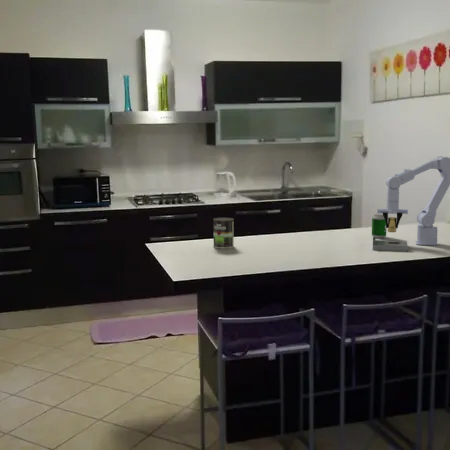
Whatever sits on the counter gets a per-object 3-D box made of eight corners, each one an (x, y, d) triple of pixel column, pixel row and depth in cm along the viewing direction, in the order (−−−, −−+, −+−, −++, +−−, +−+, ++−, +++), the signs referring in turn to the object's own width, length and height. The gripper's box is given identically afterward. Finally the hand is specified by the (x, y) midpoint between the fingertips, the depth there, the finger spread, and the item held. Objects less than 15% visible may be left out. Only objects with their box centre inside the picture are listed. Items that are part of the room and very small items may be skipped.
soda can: (382, 239, 294) (383, 216, 292) (369, 237, 298) (369, 215, 296) (388, 237, 300) (389, 214, 298) (374, 235, 304) (375, 213, 302)
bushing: (396, 231, 283) (396, 217, 281) (396, 232, 279) (396, 218, 278) (387, 230, 284) (388, 217, 282) (387, 232, 280) (388, 218, 279)
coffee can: (228, 249, 274) (227, 221, 272) (209, 247, 279) (209, 219, 277) (237, 245, 283) (237, 218, 281) (219, 244, 288) (219, 216, 286)
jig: (406, 246, 276) (406, 238, 275) (407, 251, 264) (408, 243, 264) (372, 245, 280) (372, 237, 279) (372, 250, 268) (372, 241, 268)
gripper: (377, 201, 277) (377, 228, 279) (408, 202, 273) (407, 229, 275) (377, 199, 283) (377, 226, 286) (407, 200, 280) (406, 227, 282)
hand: (392, 227), depth 281 cm, fingers closed on bushing, 4 cm apart
